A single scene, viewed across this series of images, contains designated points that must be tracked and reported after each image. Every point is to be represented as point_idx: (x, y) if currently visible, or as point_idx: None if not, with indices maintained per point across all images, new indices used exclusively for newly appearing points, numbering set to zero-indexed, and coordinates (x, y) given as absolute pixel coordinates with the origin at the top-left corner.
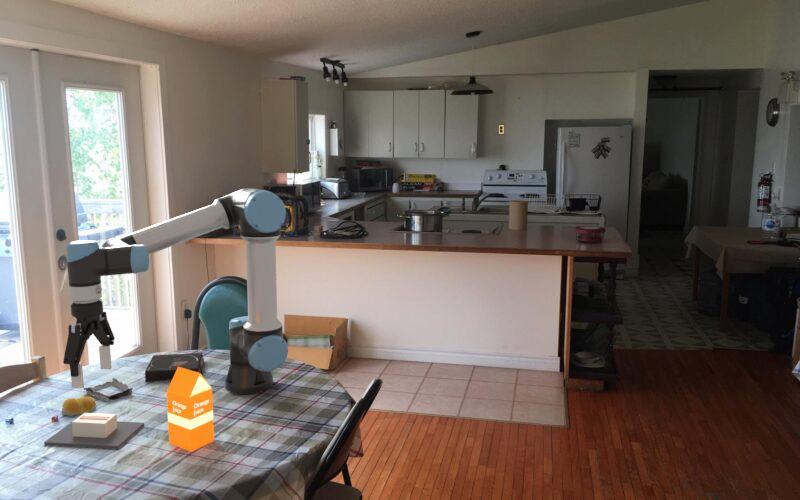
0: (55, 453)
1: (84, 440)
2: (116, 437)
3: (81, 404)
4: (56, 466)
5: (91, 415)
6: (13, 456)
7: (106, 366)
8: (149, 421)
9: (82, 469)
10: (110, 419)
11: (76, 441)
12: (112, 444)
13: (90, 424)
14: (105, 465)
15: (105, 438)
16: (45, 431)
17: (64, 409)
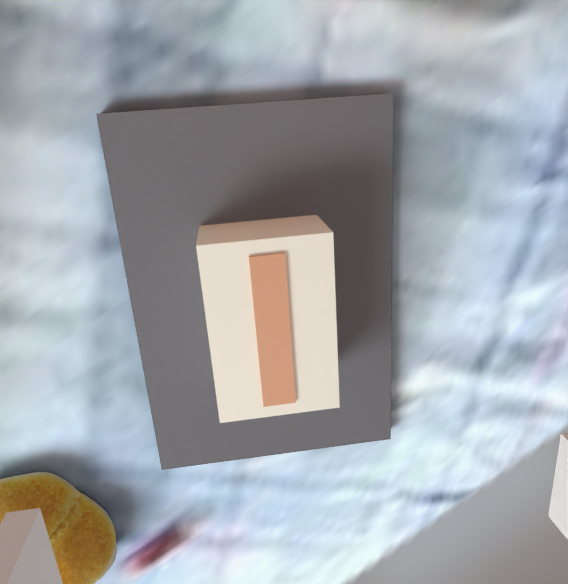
0: (449, 346)
1: (356, 295)
2: (303, 162)
3: (51, 529)
4: (554, 270)
5: (245, 368)
6: (479, 466)
7: (38, 568)
8: (40, 111)
9: None
10: (268, 237)
11: (370, 322)
12: (379, 135)
13: (335, 311)
14: (549, 58)
15: (323, 211)
16: (273, 505)
17: (109, 562)
